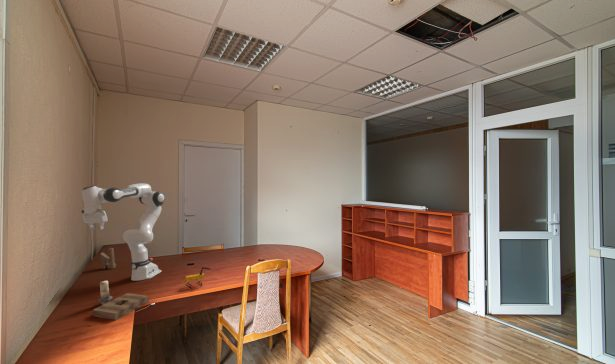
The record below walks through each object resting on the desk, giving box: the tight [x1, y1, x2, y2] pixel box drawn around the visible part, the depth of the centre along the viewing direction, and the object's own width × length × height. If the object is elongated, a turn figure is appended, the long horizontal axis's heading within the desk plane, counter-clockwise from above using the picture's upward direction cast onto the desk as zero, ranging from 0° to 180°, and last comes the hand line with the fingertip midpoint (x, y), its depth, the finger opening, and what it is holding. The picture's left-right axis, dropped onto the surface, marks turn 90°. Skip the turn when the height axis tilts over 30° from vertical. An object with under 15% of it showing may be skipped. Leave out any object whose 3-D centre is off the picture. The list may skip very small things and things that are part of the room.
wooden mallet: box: [100, 247, 117, 270], centre depth 246 cm, size 4×11×18 cm, turn 90°
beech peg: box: [97, 280, 114, 306], centre depth 178 cm, size 8×8×15 cm
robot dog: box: [183, 266, 211, 289], centre depth 200 cm, size 6×18×13 cm, turn 109°
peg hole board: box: [92, 292, 150, 321], centre depth 171 cm, size 22×18×4 cm
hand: (97, 229), depth 189 cm, fingers open, 8 cm apart
